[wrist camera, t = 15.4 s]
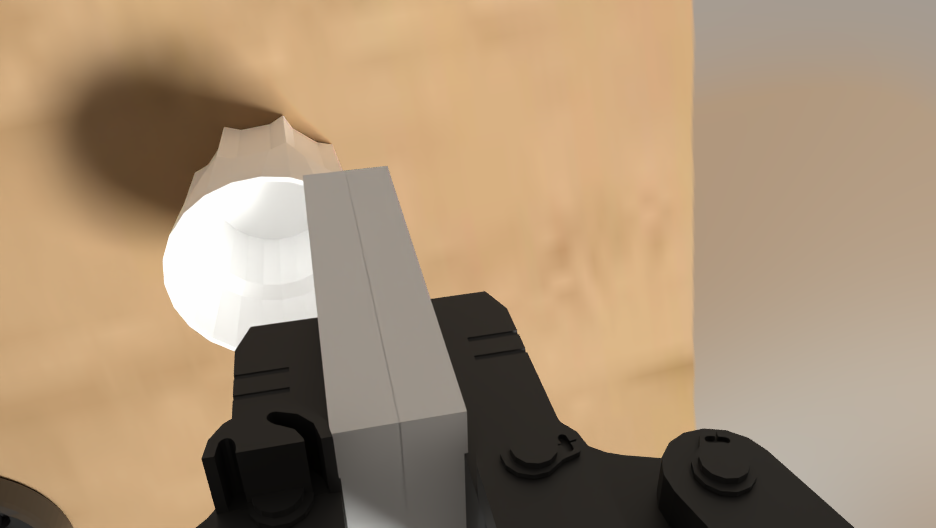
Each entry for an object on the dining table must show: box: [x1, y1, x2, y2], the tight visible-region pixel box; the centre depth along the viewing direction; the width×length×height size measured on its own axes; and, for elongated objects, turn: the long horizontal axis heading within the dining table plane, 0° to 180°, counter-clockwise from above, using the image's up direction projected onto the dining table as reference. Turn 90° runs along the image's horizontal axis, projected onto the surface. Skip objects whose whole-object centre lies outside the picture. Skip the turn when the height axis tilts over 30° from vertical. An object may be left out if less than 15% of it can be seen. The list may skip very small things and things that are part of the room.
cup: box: [163, 115, 343, 351], centre depth 42 cm, size 10×10×10 cm
